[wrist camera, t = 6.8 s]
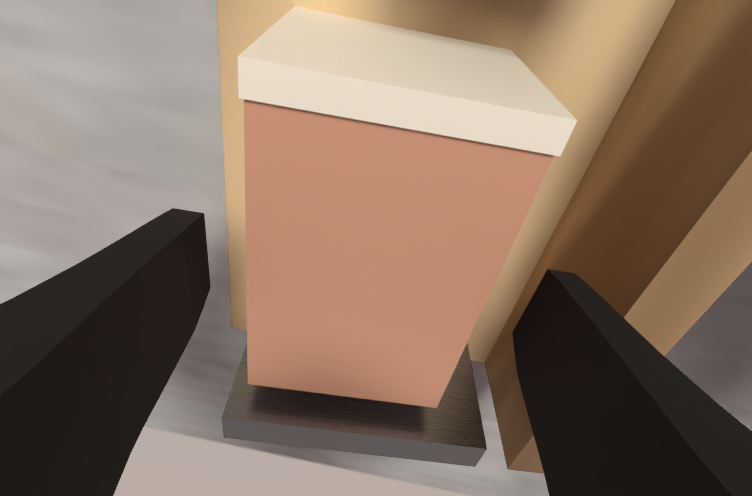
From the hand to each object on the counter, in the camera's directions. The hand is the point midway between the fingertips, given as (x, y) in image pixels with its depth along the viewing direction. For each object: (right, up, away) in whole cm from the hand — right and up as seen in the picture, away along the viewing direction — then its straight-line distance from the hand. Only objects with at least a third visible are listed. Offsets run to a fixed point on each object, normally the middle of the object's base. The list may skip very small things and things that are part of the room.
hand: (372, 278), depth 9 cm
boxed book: (0, +3, +3) cm, 4 cm away
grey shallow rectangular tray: (-1, -2, +7) cm, 7 cm away
